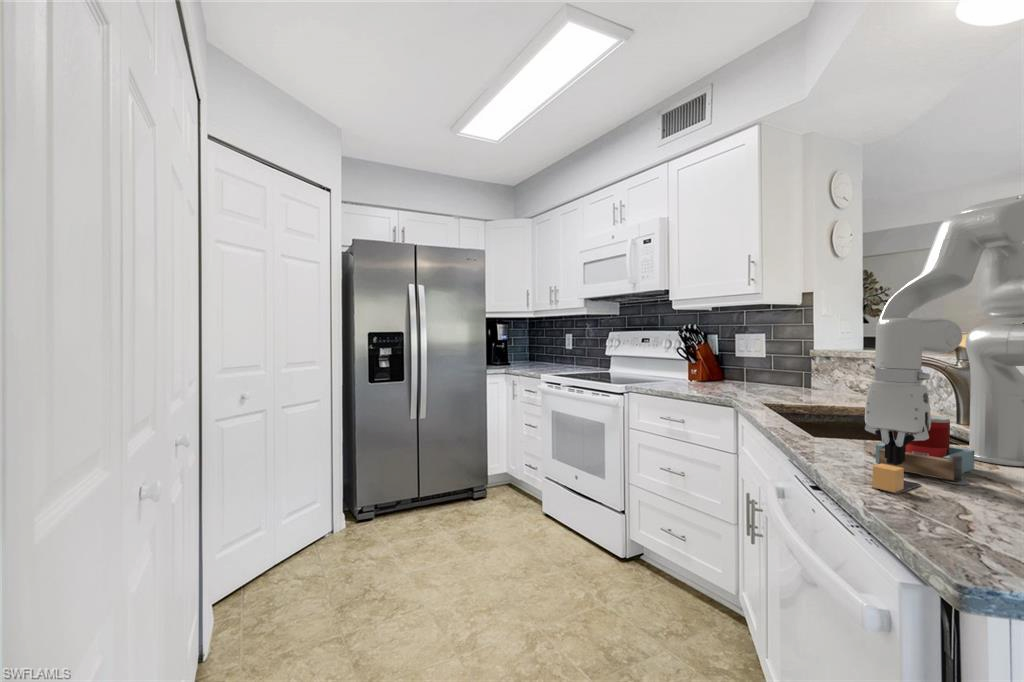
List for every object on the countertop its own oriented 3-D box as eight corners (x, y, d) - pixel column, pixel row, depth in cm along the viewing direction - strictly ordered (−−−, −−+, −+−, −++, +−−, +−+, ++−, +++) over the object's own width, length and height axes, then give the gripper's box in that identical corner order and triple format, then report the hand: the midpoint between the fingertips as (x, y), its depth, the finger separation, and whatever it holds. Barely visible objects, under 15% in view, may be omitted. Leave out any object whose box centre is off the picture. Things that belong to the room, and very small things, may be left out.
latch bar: (963, 479, 92) (963, 456, 92) (959, 481, 90) (960, 458, 90) (883, 463, 102) (883, 443, 102) (879, 465, 101) (879, 444, 101)
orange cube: (881, 483, 90) (881, 463, 90) (903, 489, 87) (903, 468, 86) (872, 486, 88) (872, 466, 88) (894, 492, 85) (895, 470, 85)
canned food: (958, 471, 99) (959, 420, 99) (915, 469, 100) (916, 418, 100) (933, 461, 106) (934, 414, 106) (893, 459, 108) (894, 412, 108)
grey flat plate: (895, 479, 93) (895, 478, 93) (920, 485, 90) (920, 484, 90) (872, 487, 88) (872, 486, 88) (897, 494, 85) (897, 492, 85)
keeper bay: (901, 454, 112) (901, 438, 112) (974, 468, 101) (974, 450, 101) (875, 462, 106) (876, 445, 105) (950, 478, 94) (950, 458, 94)
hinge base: (946, 477, 94) (946, 476, 94) (972, 483, 91) (972, 481, 91) (938, 480, 92) (938, 479, 92) (964, 486, 89) (964, 485, 89)
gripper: (951, 379, 92) (948, 470, 93) (864, 373, 105) (862, 453, 106) (935, 380, 89) (932, 475, 89) (848, 374, 102) (845, 457, 102)
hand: (894, 463), depth 97 cm, fingers closed
